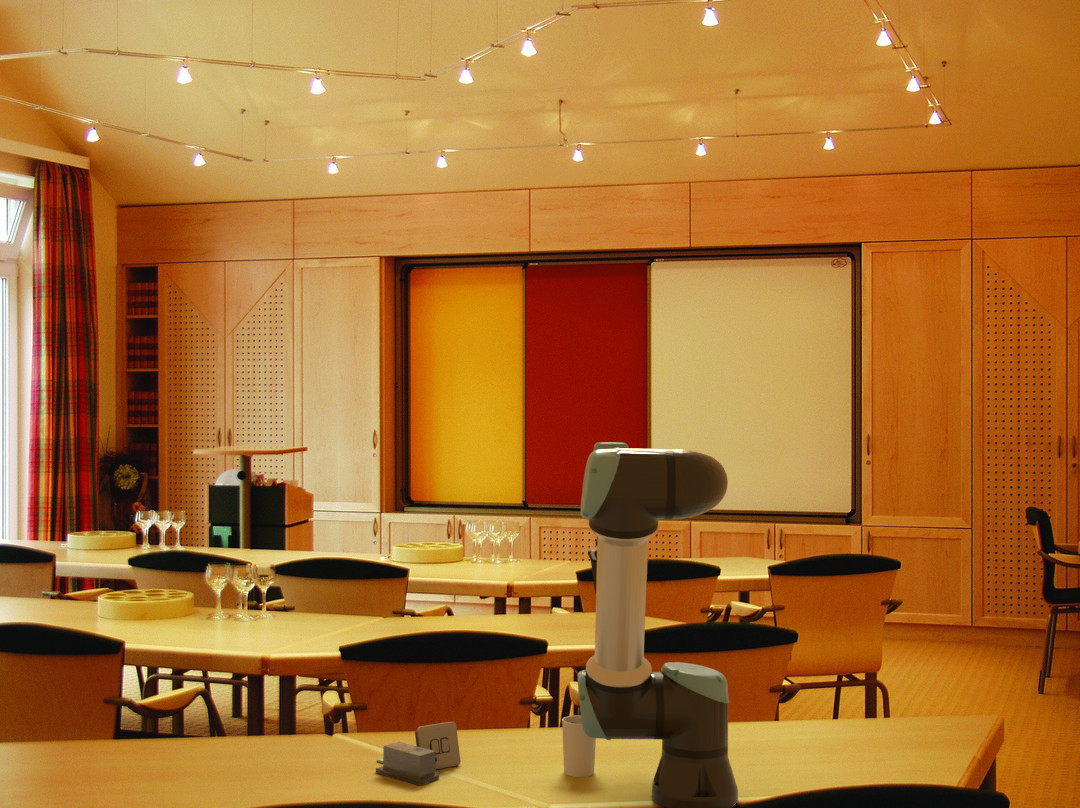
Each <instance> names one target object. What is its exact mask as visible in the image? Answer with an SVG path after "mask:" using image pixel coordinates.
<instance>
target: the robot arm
mask: <svg viewBox="0 0 1080 808" xmlns="http://www.w3.org/2000/svg"><path fill="white" fill-rule="evenodd" d="M728 482H729V481H728V475H727V471H726V470H725V468H724V467H723V465H722V464H721V462H719V460H717V459H716V458H715V457H712V456H711V455H708V454H706V453H702V452H698V451H693V450H689V449H682V448H678V449H677V448H671V449H666V448H665V449H664V448H629V445H628V444H627V443H626V442H596V443H595V444H594V446H593V451H592V452H591V453H590V454H589V456H588V458H587V460H586V465H585V469H584V475H583V481H582V492H581V493H582V494H581V499H580V516H581V518H583V519H586V520H587V521H588V528H589V530H590V531H591V532H592V533H593V534H594V535H596V540H595V547H593V549H589V550H588V551H587V555H588V558H589V560H590V565H591V572H592V579H593V586H594V594H595V595H596V596H595V623H594V625H595V627H594V629H595V631H594V632H595V633H594V635H595V636H594V654H593V655H592V656H591V657H590V658H589V659H588V660H587V661H586V664H585V669H583V670H581V671H578V673H577V688H578V689H577V690H578V698H579V709H580V716H581V719H582V725H583V730H584V732H585V734H586V735H587V736H589V737H591V738H596V739H604V740H607V741H611V740H661V756H660V759H659V763H658V765H657V768H656V771H655V774H654V778H653V780H652V784H651V798H652V800H653V801H654V802H655V803H656V804H658V805H660V806H662V807H663V808H734V807H733V805H734V804H735V803H737V802H738V803H739V787H738V785H737V783H736V778H735V774H734V773H733V769H732V765H731V761H730V759H729V703H730V697H729V688H728V680H727V678H726V676H725V675H724V674H723V673H721V672H720V671H719V670H716V669H714V668H710V667H707V666H703V665H700V664H695V663H688V662H681V661H680V662H678V661H677V662H676V661H675V662H674V661H673V662H670V661H668V662H664V663H663V665H662V667H661V669H660V670H661V671H652V669H653V668H652V667H653V666H652V664H651V663H650V661H649V659H646V657H645V656H644V655H645V654H644V653H645V630H646V628H645V627H646V608H647V607H646V604H647V603H646V602H647V583H648V582H647V579H648V576H647V575H648V556H649V555H648V553H649V539H650V538H651V537H652V536H653V535H655V534H656V533H657V532H658V529H659V520H683V519H690V518H693V517H697V516H700V515H702V514H705V513H707V512H709V511H710V510H713V509H714V508H715V507H716V506H718V505H719V504H720V503H721V502H722V501H723V499H724V498H725V495H726V494H727V490H728V484H729V483H728ZM738 803H737V804H738Z"/></svg>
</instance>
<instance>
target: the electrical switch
mask: <svg viewBox="0 0 1080 808" xmlns="http://www.w3.org/2000/svg"><path fill="white" fill-rule="evenodd" d="M458 736H459V735H458V729H457V723H456V722H455V721H448V722H441V723H435V724H429V725H422V726H418V728H417V729H416V730H415V731H414V737H415V744H416V745H415V746H417V747H421V748H425V749H429V750H432V751H435V770H440V769H445V768H449V767H456V766H459V765H460V764H461V763H462V761H461V753H460V747H459V746H460V745H459V739H458Z"/></svg>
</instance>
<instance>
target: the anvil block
mask: <svg viewBox="0 0 1080 808" xmlns="http://www.w3.org/2000/svg"><path fill="white" fill-rule="evenodd" d="M382 752H383V757H382V758H383V763H382V764H383V765H382V766H379V767H376V768H375V773H376V774H379V775H382V776H385V777H388V778H389V777H390V778H393V779H396V780H399V781H403V782H406V783H409V784H413V785H416V786H422V785H426V784H429V783H432V782H435V781H438V780H440V774H436V769H435V751H432V750H429V749H425V748H421V747H417V746H416V745H413V744H409V743H407V742H401V741H396V742H393V743H389V744H385V745H383V751H382Z"/></svg>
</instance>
